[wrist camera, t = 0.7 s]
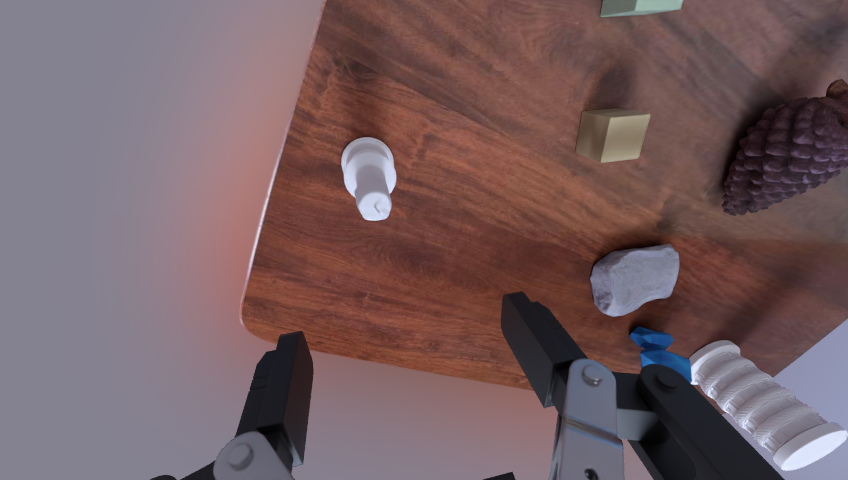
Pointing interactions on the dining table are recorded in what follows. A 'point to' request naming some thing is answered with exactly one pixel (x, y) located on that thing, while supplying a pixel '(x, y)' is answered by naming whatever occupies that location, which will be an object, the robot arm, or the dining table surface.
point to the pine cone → (789, 151)
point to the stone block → (633, 278)
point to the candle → (369, 176)
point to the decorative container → (764, 407)
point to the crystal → (660, 351)
